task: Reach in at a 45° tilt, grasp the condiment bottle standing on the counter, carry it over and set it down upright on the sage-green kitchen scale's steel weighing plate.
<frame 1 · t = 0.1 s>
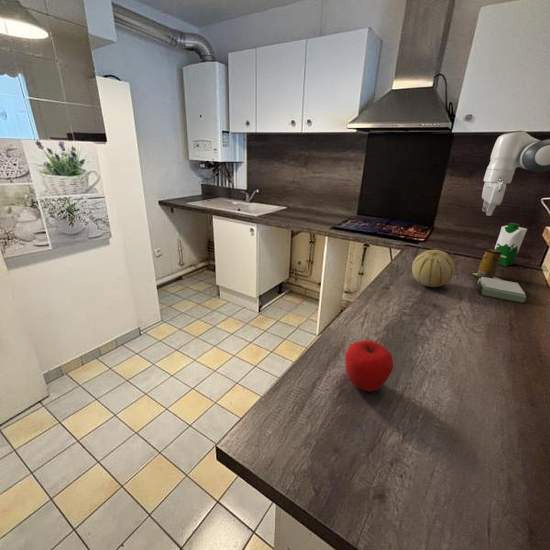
hand: (486, 213, 118), 27 cm above the worktop, tool pointing down, fingers open, 8 cm apart
milk carton: (501, 263, 145), on the worktop
apple: (363, 385, 66), on the worktop
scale: (499, 292, 113), on the worktop
cantaloupe: (428, 285, 117), on the worktop
condiment: (486, 277, 127), on the worktop
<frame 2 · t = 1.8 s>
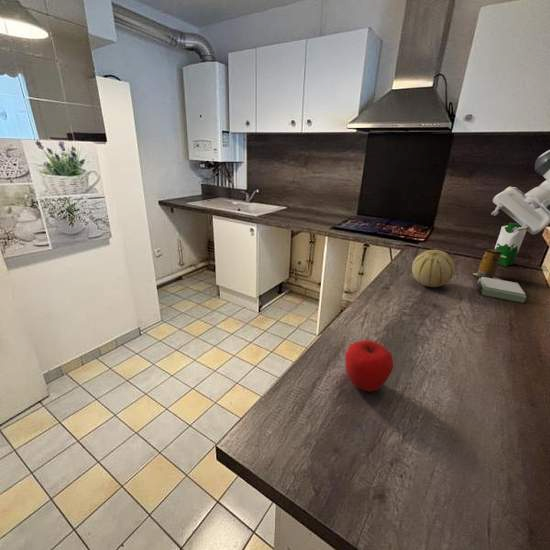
hand: (502, 222, 113), 25 cm above the worktop, tool tilted 55°, fingers open, 8 cm apart
nothing on the worktop moved.
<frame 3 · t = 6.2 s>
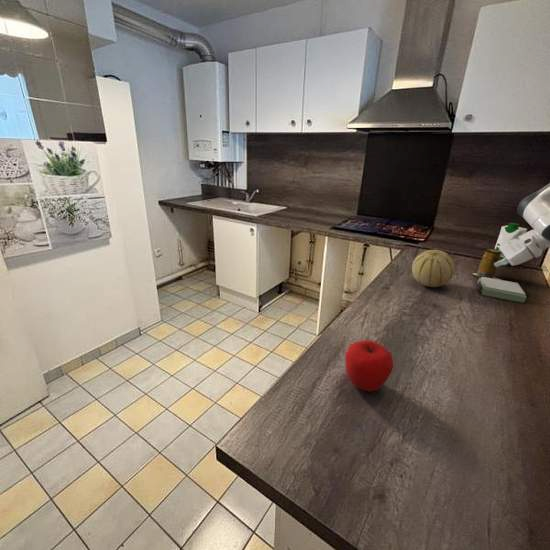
hand: (492, 261, 124), 7 cm above the worktop, tool tilted 45°, fingers open, 8 cm apart
condiment: (486, 277, 127), on the worktop, touching gripper
everything else where it was.
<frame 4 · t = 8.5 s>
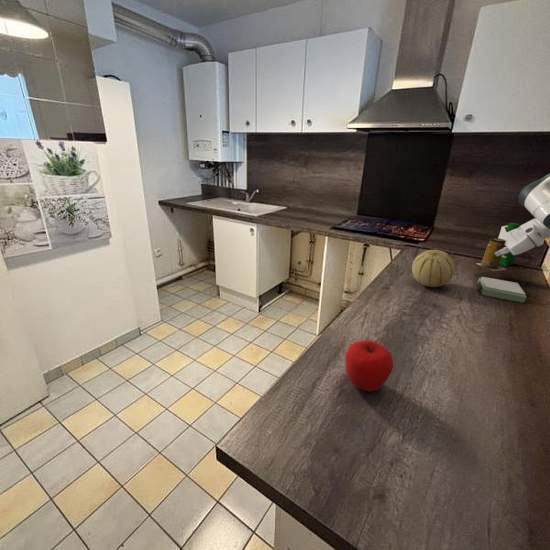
hand: (493, 252, 123), 11 cm above the worktop, tool tilted 45°, fingers closed on condiment, 6 cm apart
condiment: (490, 267, 125), point 5 cm above the worktop, touching gripper
everything else where it was.
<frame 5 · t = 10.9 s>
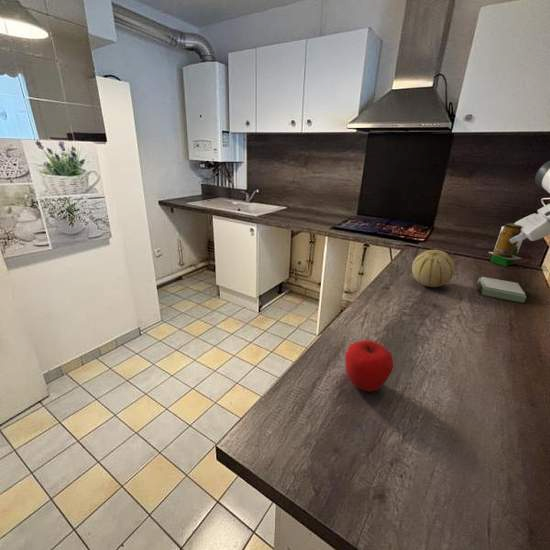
hand: (508, 239, 112), 19 cm above the worktop, tool tilted 45°, fingers closed on condiment, 6 cm apart
condiment: (504, 256, 113), point 13 cm above the worktop, touching gripper
everything else where it was.
when the fingers open (10 cm above the worktop, at t = 15.1 s): condiment stays where it is, resting on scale.
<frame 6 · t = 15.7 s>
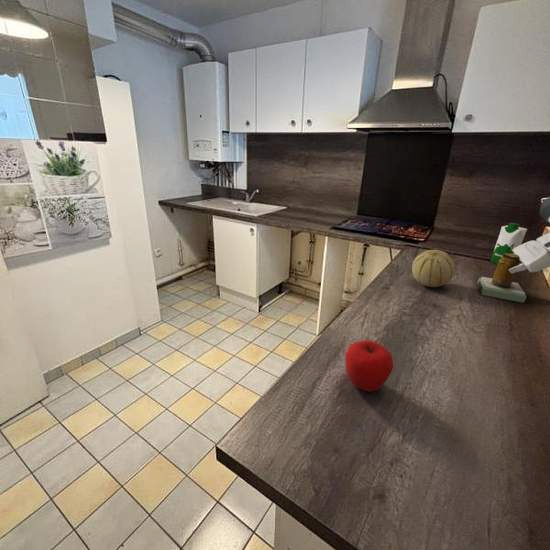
hand: (506, 267, 109), 10 cm above the worktop, tool tilted 45°, fingers open, 8 cm apart
condiment: (502, 285, 111), point 3 cm above the worktop, touching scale
everything else where it was.
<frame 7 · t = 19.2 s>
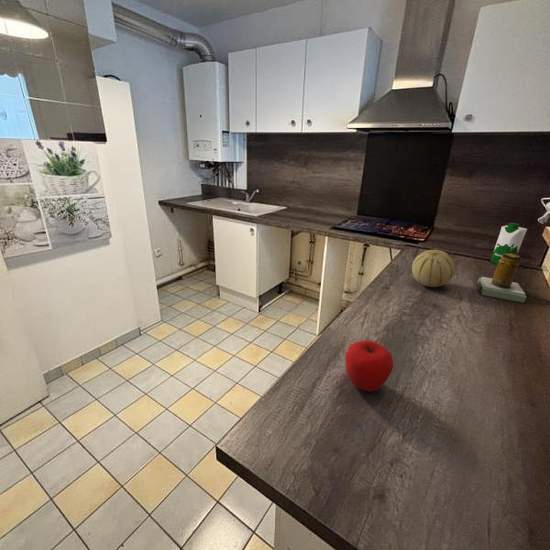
hand: (548, 227, 99), 27 cm above the worktop, tool tilted 50°, fingers open, 8 cm apart
nothing on the worktop moved.
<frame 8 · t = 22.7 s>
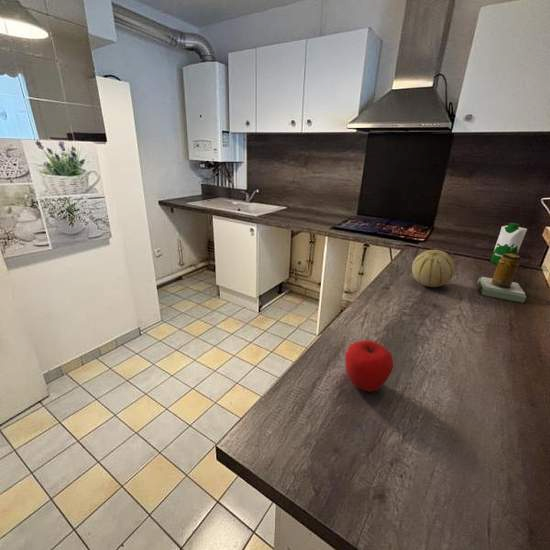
nothing on the worktop moved.
at the end: condiment inside the target area on the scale (0.7 cm from its centre), point 3.1 cm above the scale's base; condiment tilted 0°; the gripper is holding nothing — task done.
